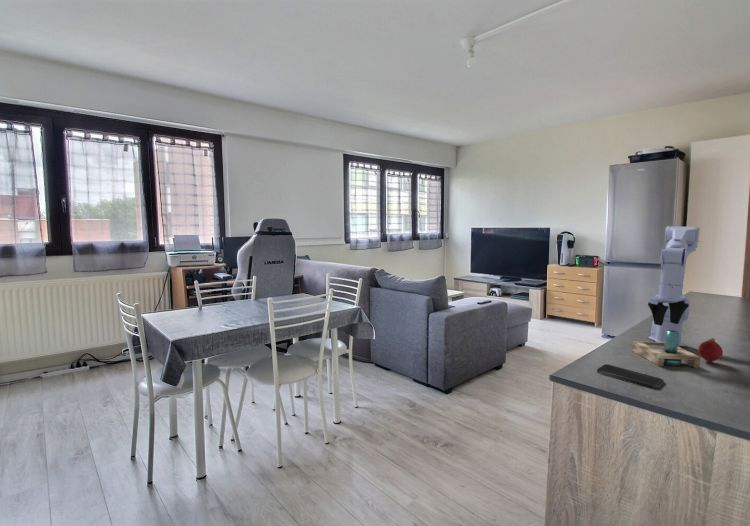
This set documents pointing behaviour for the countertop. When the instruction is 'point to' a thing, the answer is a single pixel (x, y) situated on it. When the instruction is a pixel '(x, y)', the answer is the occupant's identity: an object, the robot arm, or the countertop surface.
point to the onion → (710, 350)
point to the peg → (672, 347)
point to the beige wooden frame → (664, 353)
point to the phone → (631, 376)
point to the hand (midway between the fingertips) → (666, 324)
